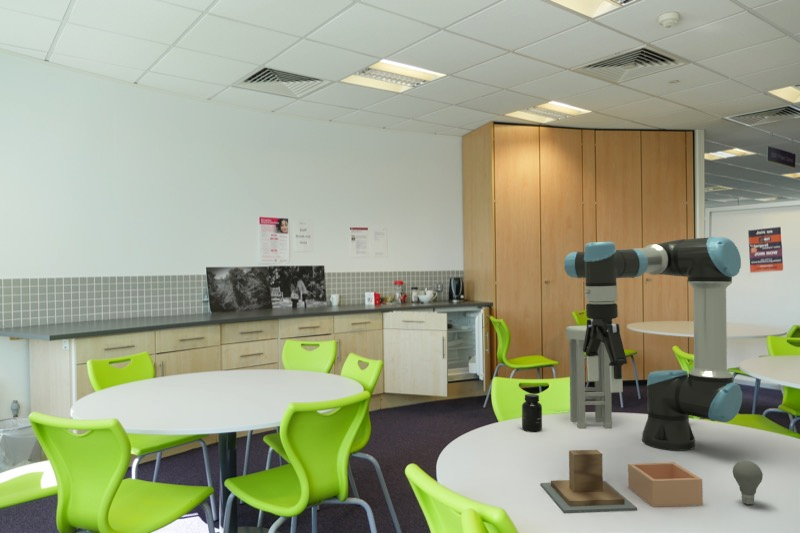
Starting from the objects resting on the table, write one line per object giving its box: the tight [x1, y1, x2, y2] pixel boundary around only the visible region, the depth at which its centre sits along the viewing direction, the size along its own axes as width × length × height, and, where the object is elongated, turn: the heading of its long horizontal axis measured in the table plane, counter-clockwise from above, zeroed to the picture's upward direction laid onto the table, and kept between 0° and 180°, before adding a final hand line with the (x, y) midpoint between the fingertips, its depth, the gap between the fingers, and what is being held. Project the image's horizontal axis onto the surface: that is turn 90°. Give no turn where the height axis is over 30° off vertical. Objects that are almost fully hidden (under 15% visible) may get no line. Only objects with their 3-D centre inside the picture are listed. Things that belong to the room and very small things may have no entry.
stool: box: [565, 324, 613, 430], centre depth 203 cm, size 16×16×35 cm
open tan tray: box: [627, 462, 704, 508], centre depth 136 cm, size 12×12×6 cm
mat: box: [540, 480, 638, 514], centre depth 136 cm, size 17×17×1 cm
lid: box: [550, 449, 625, 506], centre depth 136 cm, size 13×13×10 cm
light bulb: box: [732, 459, 764, 505], centre depth 132 cm, size 6×6×10 cm
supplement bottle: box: [521, 393, 543, 433], centre depth 196 cm, size 7×7×12 cm
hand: (604, 386), depth 143 cm, fingers open, 13 cm apart
